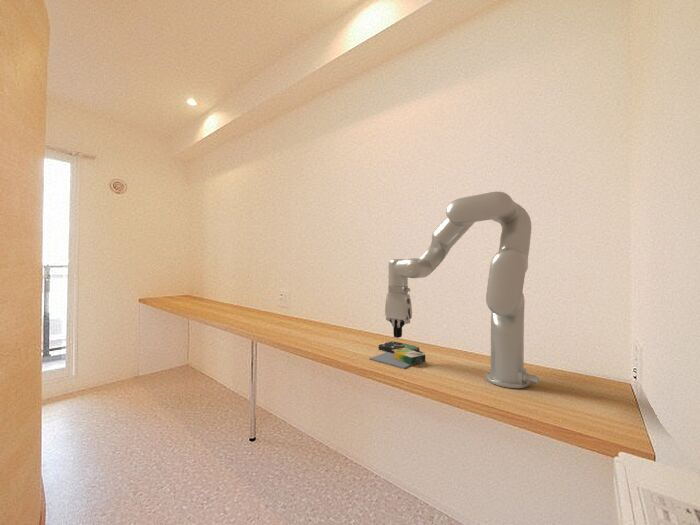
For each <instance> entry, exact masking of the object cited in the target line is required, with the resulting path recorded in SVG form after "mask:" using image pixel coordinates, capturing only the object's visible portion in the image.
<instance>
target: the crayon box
mask: <svg viewBox="0 0 700 525" xmlns="http://www.w3.org/2000/svg"><path fill="white" fill-rule="evenodd" d="M400 349H401V350H398V349H394V350H392V351H394V358H395V359H398V360H400V361H403V362H405V363H408V364H410V365H412V366H414V365H416V364H422V363H426V354H424V353H421V352H420V351H419V352H415V351H412V350H410V349H407V348H400ZM413 364H414V365H413Z"/></svg>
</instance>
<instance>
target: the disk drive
mask: <svg viewBox="0 0 700 525" xmlns="http://www.w3.org/2000/svg"><path fill="white" fill-rule="evenodd" d="M400 348H407V349H410V350H412V351H415V352H419V353H420V347H419V346H416V345H411V344H407V343H403V342H397V341H395V340H393V341H387V342H385V343H383V344H382V343H381V344H378V350H379V351H381V350H382V352H385V353H386V352H389V353H393V354H394V351H392V350H394V349H398V350H401V349H400Z"/></svg>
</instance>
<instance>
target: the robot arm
mask: <svg viewBox="0 0 700 525" xmlns="http://www.w3.org/2000/svg"><path fill="white" fill-rule="evenodd" d="M445 214H446V217H445V219H444V220H443V221H442V222H441V223H440V224H439V225H438V226H437V228H436V229H435V230H434V231H433V232H432V234H431V242H430V245H429V247H428V248H427V250H426V251H425V252H424V253H423V254H422V256H421V257H419V258H417V257H415V258H413V257H412V258H406V259H405V258H404V259H403V258H393V259H390V260H389V261H388V275H387V276H388V281H387V282H388V286H387V291H388V293H387V294H386V298H385V304H384V305H385V308H384V314H385V315H384V316H385V320H386V321H387V322H389V323H390V324H391V325H392V326H391V327H392V328H393V338H396V339H398V338H402V335H403V327H404V326H405V325H406V324H411V319H412V317H413V310H412V309H413V307H412V301H411V300H412V299H411V295H410V294H408V293H409V292H410V291H411V288H409V284H408V280H409V279H421V278H426V277H428V276H429V275H431V274H432V272H434V271H435V270H436V269H437V268H438V267H439V266H440V265H441V263H442V262H443V261H444V260H445V258H446V257H447V255H448V254H449V253H450V250H451V249H452V248H453V246H454V245H456V243H457V242H458V241H459V240H460V239H461V238H462V237H463V235H465V234H466V233H467V231H468V230H469V229H470V228H471V227H472V226H473V225H474V224H475V223H477V222H483V221H491V220H492V221H494V222H495V223H498V224H500V226H501V234H500V240H499V248H498V252H496V253H495V254H494V256H493V257H492V258H491V262H490V266H489V272H488V278H487V279H488V280H487V285H486V293H485V294H486V295H485V303H486V306H487V307H488V309H489V311H491V312H490V371H488V372H486V373H485V380H486V381H487V382H489V383H490V384H494V386H495V385H496V386H498V387H503V388H508V389H524V388H528V387H529V386H530V383H533V384H537V385H539V384H540V381H541V380H540V377H539V376H537V375H536V374H531V373H529V372H528V371H527V368H525V367H524V366H525V365H524V364H525V363H524V361H525V359H524V357H525V355H524V354H525V352H524V349H525V348H524V346H525V338H524V337H525V336H524V335H525V334H524V333H525V302H526V301H525V296H524V293H523V291H524V283H525V277H526V272H527V270H528V267H529V253H530V249H531V248H530V245H531V237H532V221H531V218H530V215H529V213H528V211H527V210H526V208H524V207H523V206H521V205H520V204H519V203H517V202H516V201H514V199H512V197H511V196H510V195H509V194H507V193H506V192H503V191H491V192H490V191H489V192H485V193H481V194H476V195H469V196H465V197H459V198H456V199H454V200H453V201H451V202H450V203H449V204H448V206H447V208H446V212H445Z"/></svg>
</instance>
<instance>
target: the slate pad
mask: <svg viewBox="0 0 700 525" xmlns="http://www.w3.org/2000/svg"><path fill="white" fill-rule="evenodd" d="M369 360H370V361H373V362H378V363H380V364H384V365H388V366H392V367H396V368H399V369H404V370H405V369H407V368H410V367H411V366H414V365H415V364H413V365H410V364H408V363H405V362H403V361H400V360H398V359H395V358H394V354H393V353H390V352H386V351H385V352H383V353H380V354H377V355H375V356H371V357H369Z"/></svg>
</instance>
